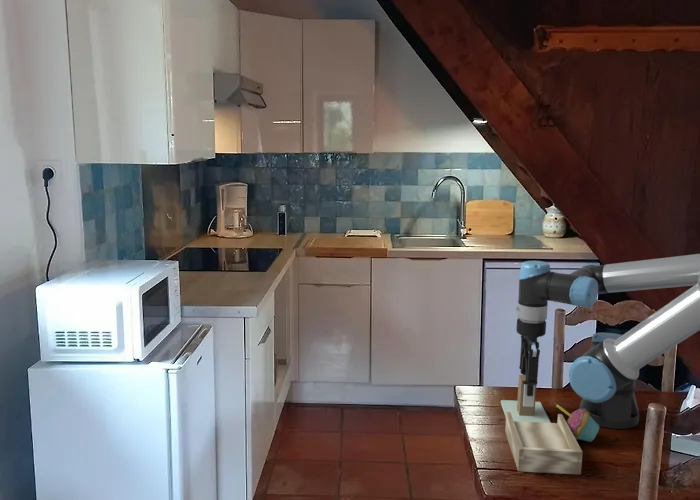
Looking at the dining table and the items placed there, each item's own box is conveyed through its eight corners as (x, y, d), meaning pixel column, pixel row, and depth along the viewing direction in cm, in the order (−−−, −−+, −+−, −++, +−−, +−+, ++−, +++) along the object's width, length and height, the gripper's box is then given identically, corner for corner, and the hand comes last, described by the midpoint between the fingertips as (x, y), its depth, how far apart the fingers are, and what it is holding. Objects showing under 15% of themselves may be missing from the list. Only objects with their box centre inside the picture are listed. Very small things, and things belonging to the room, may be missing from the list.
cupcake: (604, 412, 167) (560, 388, 170) (602, 432, 160) (557, 406, 162) (586, 435, 171) (544, 411, 174) (584, 455, 164) (539, 429, 166)
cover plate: (539, 406, 189) (542, 368, 187) (552, 432, 173) (555, 390, 171) (500, 405, 189) (502, 366, 187) (509, 430, 174) (511, 388, 172)
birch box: (560, 434, 170) (562, 414, 169) (580, 474, 151) (582, 452, 150) (505, 431, 171) (506, 411, 170) (518, 471, 152) (519, 449, 151)
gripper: (511, 309, 185) (507, 388, 189) (523, 328, 168) (517, 415, 172) (539, 310, 185) (534, 389, 189) (553, 329, 167) (547, 416, 171)
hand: (526, 401), depth 180 cm, fingers open, 5 cm apart
